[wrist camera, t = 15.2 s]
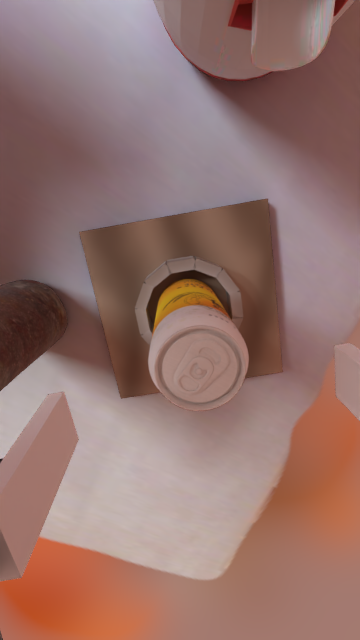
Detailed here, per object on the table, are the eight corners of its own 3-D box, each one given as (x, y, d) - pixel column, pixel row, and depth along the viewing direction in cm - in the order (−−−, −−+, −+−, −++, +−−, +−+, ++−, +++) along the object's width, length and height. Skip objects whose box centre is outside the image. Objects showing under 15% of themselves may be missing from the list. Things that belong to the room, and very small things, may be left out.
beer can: (229, 300, 33) (274, 358, 18) (194, 346, 34) (210, 434, 20) (180, 265, 32) (188, 297, 17) (146, 314, 33) (126, 382, 18)
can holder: (122, 393, 37) (117, 411, 33) (82, 231, 32) (71, 232, 28) (279, 367, 36) (290, 382, 33) (264, 199, 31) (276, 196, 28)
